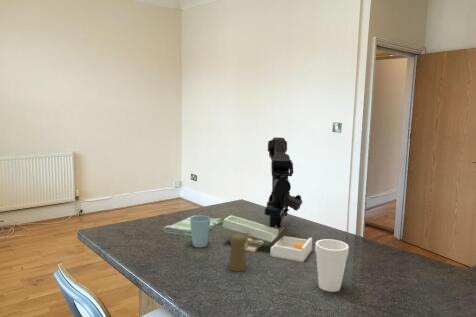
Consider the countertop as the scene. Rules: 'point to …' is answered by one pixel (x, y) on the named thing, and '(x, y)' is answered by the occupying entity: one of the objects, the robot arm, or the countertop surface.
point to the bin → (291, 249)
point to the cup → (200, 230)
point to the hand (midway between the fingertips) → (279, 227)
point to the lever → (252, 228)
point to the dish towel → (189, 226)
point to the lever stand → (252, 243)
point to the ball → (298, 245)
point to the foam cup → (331, 263)
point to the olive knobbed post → (237, 253)
